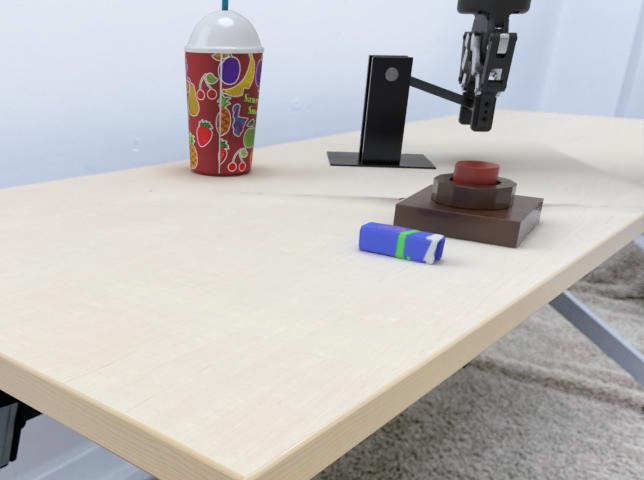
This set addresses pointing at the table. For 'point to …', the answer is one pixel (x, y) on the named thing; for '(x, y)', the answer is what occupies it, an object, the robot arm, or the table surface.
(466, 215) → the button block
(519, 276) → the table surface
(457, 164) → the button
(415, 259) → the eraser
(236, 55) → the smoothie
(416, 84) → the lever
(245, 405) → the table surface
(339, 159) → the bracket
